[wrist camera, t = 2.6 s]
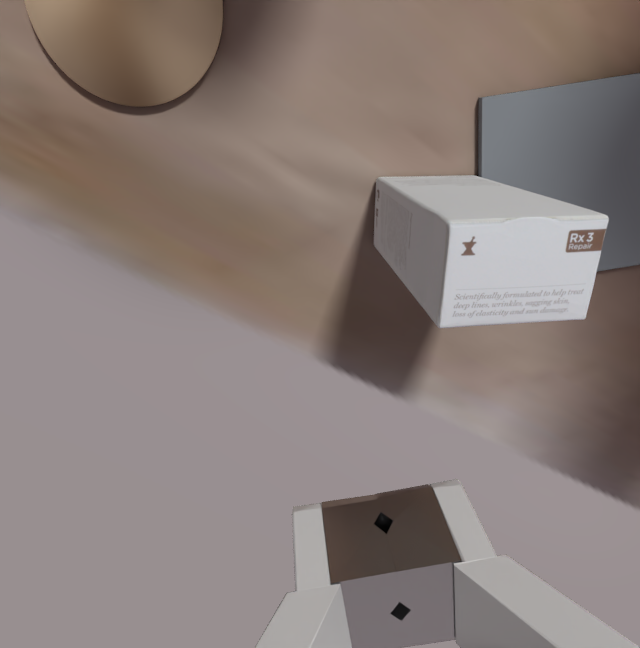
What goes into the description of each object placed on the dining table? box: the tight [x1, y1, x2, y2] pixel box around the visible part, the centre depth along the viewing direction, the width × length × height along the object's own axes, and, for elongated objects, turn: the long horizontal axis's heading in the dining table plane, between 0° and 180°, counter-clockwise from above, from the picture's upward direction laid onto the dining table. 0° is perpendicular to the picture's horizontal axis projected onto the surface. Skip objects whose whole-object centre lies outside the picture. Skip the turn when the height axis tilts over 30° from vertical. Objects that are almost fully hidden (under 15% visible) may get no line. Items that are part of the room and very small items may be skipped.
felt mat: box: [478, 73, 640, 271], centre depth 28 cm, size 13×11×1 cm
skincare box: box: [374, 175, 609, 328], centre depth 23 cm, size 6×4×12 cm
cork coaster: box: [24, 0, 223, 107], centre depth 23 cm, size 9×9×1 cm
